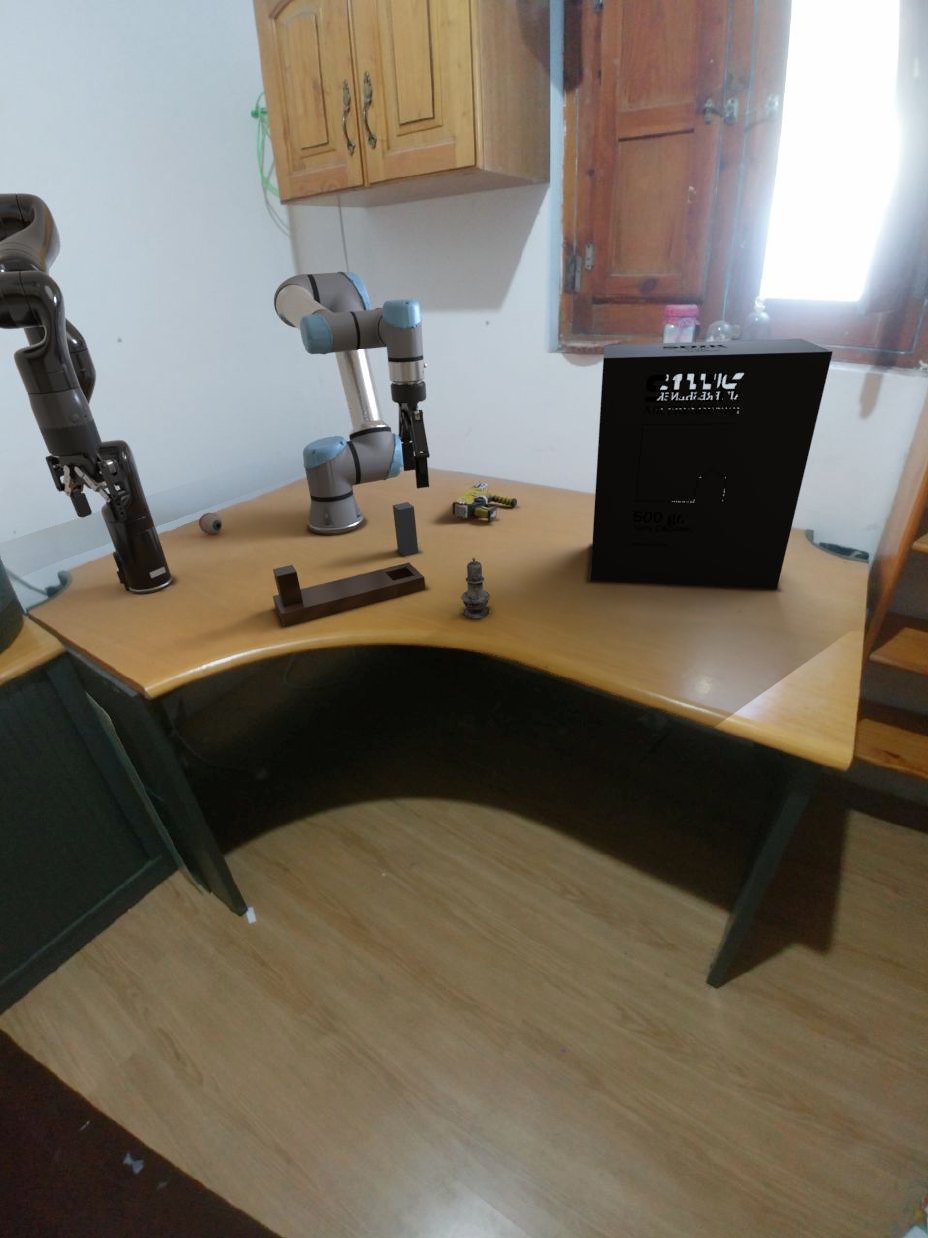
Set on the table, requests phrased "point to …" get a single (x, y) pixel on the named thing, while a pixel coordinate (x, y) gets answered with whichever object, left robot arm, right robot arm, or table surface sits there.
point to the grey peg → (405, 528)
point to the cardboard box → (703, 460)
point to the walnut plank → (341, 592)
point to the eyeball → (210, 523)
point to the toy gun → (479, 503)
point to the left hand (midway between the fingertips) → (102, 518)
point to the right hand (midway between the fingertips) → (416, 478)
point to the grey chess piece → (475, 592)
